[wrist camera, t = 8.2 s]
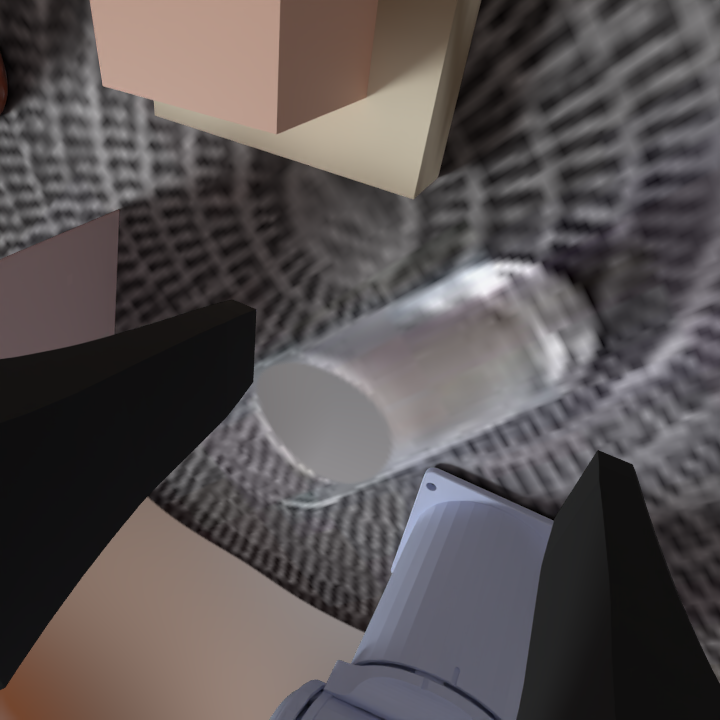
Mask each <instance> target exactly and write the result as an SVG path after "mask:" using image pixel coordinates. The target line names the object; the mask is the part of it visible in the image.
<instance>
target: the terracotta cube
mask: <svg viewBox="0 0 720 720" xmlns="http://www.w3.org/2000/svg"><path fill="white" fill-rule="evenodd" d="M90 5H91V12H92V18H93V25H94V32H95V38H96V45H97V51H98V58H99V64H100V71H101V77H102V84H103V86H105V87H108V88H112V89H115V90H119V91H123V92H126V93H130V94H133V95H137V96H141V97H144V98H148V99H151V100H155V101H158V102H162V103H166V104H169V105H173V106H176V107H180V108H183V109H187V110H191V111H194V112H198V113H201V114H205V115H209V116H212V117H216V118H219V119H223V120H226V121H230V122H234V123H237V124H241V125H244V126H248V127H251V128H255V129H259V130H262V131H266V132H269V133H273V134H279V133H281V132H284V131H286V130H289V129H291V128H294V127H296V126H298V125H301V124H303V123H306V122H308V121H311V120H313V119H316V118H318V117H320V116H323V115H325V114H328V113H330V112H333V111H335V110H338V109H340V108H342V107H345V106H347V105H350V104H352V103H355V102H357V101H360V100H362V99H364V98H366V97H367V89H368V81H369V73H370V65H371V56H372V48H373V40H374V32H375V24H376V16H377V7H378V0H90Z"/></svg>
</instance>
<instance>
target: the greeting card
mask: <svg viewBox="0 0 720 720" xmlns="http://www.w3.org/2000/svg"><path fill="white" fill-rule="evenodd" d="M118 233H119V209H118V210H116V211H114V212H111V213H109V214H106V215H104V216H102V217H99V218H97V219H95V220H92V221H90V222H88V223H85V224H83V225H80V226H78V227H76V228H73V229H71V230H69V231H66V232H64V233H62V234H59V235H57V236H54V237H52V238H50V239H47V240H45V241H43V242H40V243H38V244H35V245H33V246H31V247H28V248H26V249H24V250H21V251H19V252H17V253H14V254H12V255H9V256H7V257H5V258H2V259H0V359H4V358H12V357H18V356H24V355H29V354H34V353H39V352H45V351H50V350H55V349H59V348H64V347H69V346H73V345H77V344H81V343H85V342H89V341H93V340H96V339H100V338H104V337H107V336H111V335H115V309H116V284H117V259H118Z"/></svg>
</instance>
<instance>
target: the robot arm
mask: <svg viewBox="0 0 720 720" xmlns="http://www.w3.org/2000/svg"><path fill="white" fill-rule="evenodd" d="M255 327H256V309H254V308H251V307H249V306H247V305H244V304H242V303H239V302H237V301H234V300H228V301H224V302H220V303H217V304H213V305H210V306H207V307H204V308H200V309H197V310H194V311H191V312H188V313H185V314H181V315H178V316H175V317H172V318H169V319H166V320H162V321H159V322H156V323H153V324H150V325H146V326H143V327H140V328H137V329H133V330H130V331H126V332H122V333H118V334H115V335H111V336H107V337H104V338H100V339H96V340H93V341H89V342H85V343H81V344H77V345H73V346H69V347H64V348H59V349H55V350H50V351H45V352H39V353H34V354H29V355H24V356H18V357H12V358H4V359H0V690H1V689H4V688H5V687H6V686H7V684H8V683H9V681H10V680H11V678H12V676H13V675H14V673H15V672H16V670H17V669H18V667H19V666H20V664H21V663H22V661H23V660H24V658H25V657H26V656H27V654H28V652H29V651H30V650H31V648H32V647H33V645H34V644H35V642H36V641H37V639H38V638H39V636H40V635H41V634H42V632H43V630H44V629H45V628H46V626H47V625H48V623H49V622H50V620H51V619H52V618H53V616H54V615H55V614H56V612H57V611H58V609H59V608H60V607H61V605H62V604H63V602H64V601H65V600H66V598H67V597H68V596H69V594H70V593H71V592H72V590H73V589H74V587H75V586H76V585H77V583H78V582H79V581H80V579H81V578H82V576H83V575H84V574H85V573H86V571H87V570H88V569H89V567H90V566H91V565H92V564H93V562H94V561H95V560H96V559H97V557H98V556H99V555H100V553H101V552H102V551H103V549H104V548H105V547H106V546H107V544H108V543H109V542H110V541H111V539H112V538H113V537H114V536H115V534H116V533H117V532H118V531H119V530H120V528H121V527H122V526H123V524H124V523H125V522H126V521H127V520H128V519H129V517H130V516H131V515H132V514H133V513H134V511H135V510H136V509H137V508H138V506H139V505H140V504H141V503H142V502H143V501H144V500H145V499H146V497H147V496H148V495H149V494H150V493H151V492H152V491H153V490H154V489H155V488H156V487H157V486H158V485H159V484H160V483H161V482H162V481H163V480H164V479H165V478H166V477H167V476H168V475H169V474H170V473H171V472H172V471H173V470H174V469H175V468H176V467H177V466H178V465H179V464H180V463H181V462H182V461H183V460H184V459H185V458H186V457H187V456H188V455H189V454H190V453H191V452H192V451H193V450H194V449H195V448H196V447H197V446H198V445H199V444H200V443H201V442H202V441H203V440H204V439H205V438H206V437H207V436H208V435H209V434H210V433H211V432H212V431H213V430H214V429H215V428H216V427H217V426H218V425H219V424H220V423H221V422H222V421H223V420H224V419H225V418H226V417H227V416H228V415H229V413H230V412H231V411H232V410H233V408H234V407H235V406H236V404H237V403H238V402H239V401H240V399H241V398H242V397H243V395H244V394H245V392H246V391H247V390H248V388H249V387H250V386H251V384H252V383H253V375H254V351H255ZM431 483H433V484H434V485H432V484H431ZM391 573H392V575H391V578H390V580H389V582H388V584H387V586H386V588H385V591H384V593H383V595H382V597H381V599H380V602H379V604H378V606H377V608H376V610H375V612H374V615H373V617H372V619H371V621H370V623H369V626H368V628H367V630H366V632H365V634H364V636H363V639H362V641H361V643H360V645H359V647H358V649H357V652H356V654H355V656H354V658H353V660H352V663H351V664H350V663H347V662H344V661H341V660H338V661H337V662H336V664H335V666H334V669H333V670H332V673H331V675H330V677H329V679H328V681H327V683H324V682H322V681H320V680H311V681H309V682H307V683H305V684H304V685H303V686H302V687H300V688H299V689H298V690H296V691H294V692H292V693H291V694H290V695H289V696H287V697H286V698H285V699H284V701H283V702H282V703H281V704H280V705H279V706H278V708H277V709H276V710H275V712H274V713H273V715H272V716H271V717H270V719H269V720H720V683H719V682H718V680H717V678H716V676H715V674H714V672H713V670H712V668H711V666H710V664H709V662H708V660H707V658H706V656H705V653H704V651H703V649H702V647H701V645H700V643H699V641H698V639H697V636H696V634H695V632H694V629H693V627H692V625H691V623H690V620H689V618H688V616H687V614H686V611H685V609H684V607H683V604H682V602H681V599H680V597H679V595H678V592H677V590H676V587H675V585H674V582H673V580H672V577H671V574H670V572H669V569H668V566H667V564H666V561H665V559H664V556H663V553H662V551H661V548H660V545H659V542H658V540H657V537H656V534H655V531H654V528H653V525H652V522H651V519H650V516H649V513H648V510H647V507H646V504H645V501H644V497H643V494H642V491H641V488H640V484H639V481H638V478H637V475H636V472H635V469H634V467H633V465H632V464H630V463H628V462H625V461H623V460H621V459H618V458H616V457H613V456H611V455H608V454H606V453H604V452H601V451H599V450H598V451H597V452H596V454H595V455H594V457H593V458H592V460H591V462H590V463H589V465H588V466H587V468H586V469H585V471H584V473H583V474H582V476H581V477H580V479H579V480H578V482H577V484H576V485H575V487H574V488H573V490H572V492H571V493H570V495H569V496H568V498H567V499H566V501H565V503H564V504H563V506H562V507H561V509H560V510H559V512H558V514H557V515H556V517H555V519H554V521H553V520H551V519H549V518H547V517H545V516H542V515H540V514H538V513H536V512H534V511H531V510H529V509H527V508H525V507H522V506H520V505H518V504H516V503H514V502H511V501H509V500H507V499H505V498H503V497H500V496H498V495H496V494H494V493H491V492H489V491H487V490H485V489H483V488H480V487H478V486H476V485H474V484H472V483H469V482H467V481H465V480H463V479H460V478H458V477H456V476H454V475H452V474H449V473H447V472H445V471H443V470H440V469H438V468H435V467H434V468H429V469H427V471H426V473H425V475H424V478H423V480H422V483H421V486H420V489H419V492H418V495H417V497H416V500H415V503H414V506H413V509H412V512H411V514H410V517H409V520H408V523H407V526H406V529H405V531H404V534H403V537H402V540H401V543H400V545H399V548H398V551H397V554H396V557H395V560H394V562H393V565H392V568H391Z"/></svg>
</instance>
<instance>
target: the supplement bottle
mask: <svg viewBox="0 0 720 720" xmlns="http://www.w3.org/2000/svg"><path fill="white" fill-rule="evenodd" d="M7 94H8V85H7V74H6V70H5V66H4V63H3V59H2V56H1V53H0V115H1V113H2V112H3V110H4V108H5V104H6V101H7V96H8V95H7Z"/></svg>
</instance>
